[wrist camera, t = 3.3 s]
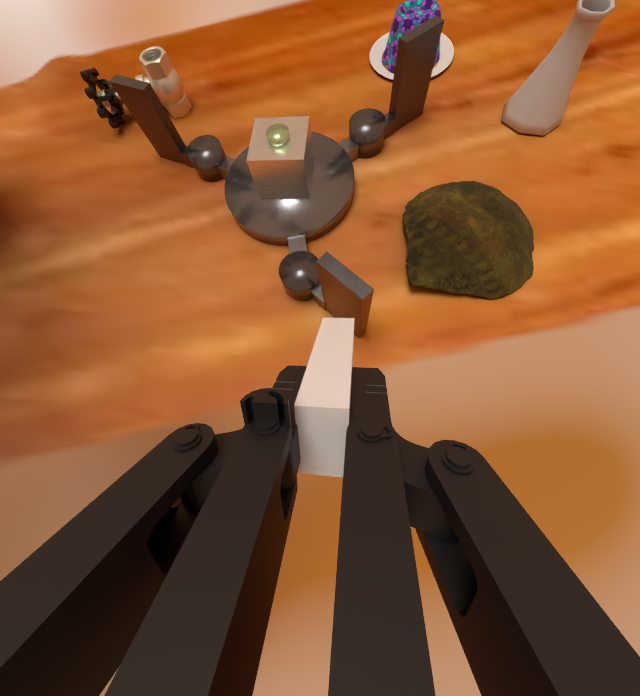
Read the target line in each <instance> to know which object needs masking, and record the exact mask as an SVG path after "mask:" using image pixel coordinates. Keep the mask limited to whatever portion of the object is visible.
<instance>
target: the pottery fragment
mask: <svg viewBox="0 0 640 696" xmlns="http://www.w3.org/2000/svg"><path fill="white" fill-rule="evenodd" d="M405 209H406V211H405V213H404V214H403V226H404V234H405V236H406V237H407V240H408V241H407V242H408V256H407V260H406V262H407V265H406V268H407V269H408V281H409V285H412V286H417V287H424V288H426V289H440V290H442V291H446V292H449V293H450V294H458V293H460V294H470V295H473V296H479V297H484V298H487V299H496V298H500V297H503V296H505V295H507V294H511V293H513V292H514V291H516V290H517V289H518V288H519V287H522V286H523V284H524V283H525V281H526V280H527V279H529V278H531V277H532V275H533V260H532V254H531V253H532V252H533V250H534V245H533V229H532V227H531V225H530V223H529V221H528V219H527V217H526V216H525V214H524V213H523V211H522V210H521V208H520V207H519V206H518V205H517V203H515V202H514V201H512V200H511V199H509V198H508V197H506V196H505V195H504V194H503V193H502V192H501V191H500V190H498V189H495V188H494V187H492V186H488V185H485V184H482V183H479V182H475V181H462V182H451V183H447V184H442V185H438V186H435V187H432V188H430V189H428V190H426V191H424V192H421V193H419V194H418V195H417V196H416V197H415V198H414V199H413V200H411V201H409V202H408V204H407V205H406V207H405Z"/></svg>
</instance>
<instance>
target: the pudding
mask: <svg viewBox="0 0 640 696" xmlns="http://www.w3.org/2000/svg"><path fill="white" fill-rule="evenodd" d="M436 15H437V16H438V17H440V18H441V11H440V8H439V5H438V3H437V2H436V1H435V0H408V1H407V2H403V3H402V4H400V5H399V7H398V9H397V11H396V13H395V17H394V20H393V23H392V27H391V30H390V32H389V33H387V34H385V35H383V36H382V37H380V38H379V39H378V40H377V41H376V42H375V43H374V45H373V46H372V48H371V50H370V55H369V56H370V62H371V65H372V67H373V68H374V69H375V70H376V71H377V72H378V73H379V74H381V75H382V76H384V77H386V78H389V79H392V80H393V78H394V74H392V73H394V71H395V63H396V55H397V48H398V40H399V37H401V36H402V35H404V34H406V33H407V32H409V31H411V30H412V29H414V28H416V27H417V26H419V25H421V24H422V23H424V22H426V21H427V20H429V19H431V18H433V17H434V16H436ZM384 50H385V52H384ZM383 52H384V55H383V59H382V62H383V64H384V65H386V66H388V70H389V71H390V72H391V73H390V72H389V71H387V70H386V69H385V68H384V66H383V65H382V62H381V57H382V54H383ZM439 52H440V59H439ZM453 56H454V47H453V44H452V42H451V41H450V40H449V38H448V37H447V36H445V35H444V34H443V33H441V36H440V40H439V45H438V49H437V53H436V57H435V61H434V63H436V62H438V60H439V62H438V64H437V65H436V66H435V67H434V68H433V70H432V74H431V77H433V76H435V75H437V74H439V73H440V72H442V71H443V70H445V69H446V68H447V67H448V66H449V64H450V63H451V61H452V59H453Z"/></svg>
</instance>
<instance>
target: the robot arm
mask: <svg viewBox="0 0 640 696" xmlns="http://www.w3.org/2000/svg"><path fill="white" fill-rule="evenodd" d="M353 353H354V318H323V319H322V322H321V325H320V328H319V331H318V334H317V338H316V341H315V344H314V347H313V350H312V353H311V356H310V359H309V362H308V365H307V366H287V367H286V368H285V369H283V370H282V371H281V372H280V373H279V375H278V377H277V379H276V382H275V384H274V386H273V388H264V389H259V390H256V391H252V392H251V393H249V394H247V395H246V396H244V398H243V399H242V400H241V401H240V403H241V408H242V412H243V417H244V423H245V425H244V427H243V429H241V430H237V431H233V432H228V433H222V434H217V435H215V434H214V432H213V430H212V428H211V427H210V426H208V425H206V424H200V423H196V424H190V425H186V426H184V427H181V428H179V429H177V430H176V431H174V432H173V433H171V434H170V435H169V436H167V437H166V438H165V439H164V440H163V441H162V442H160V443H159V444H158V445H157V446H156V447H155V448H153V449H152V450H151V451H150V452H149V453H148V454H147V455H145V456H144V457H143V458H142V459H141V460H140V461H139V462H138V463H136V464H135V465H134V466H133V467H132V468H130V469H129V470H128V471H127V472H126V473H125V474H123V475H122V476H121V477H120V478H119V479H118V480H117V481H115V482H114V483H113V484H112V485H111V486H110V487H109V488H107V489H106V490H105V491H104V492H103V493H102V494H101V495H99V496H98V497H97V498H96V499H95V500H94V501H92V502H91V503H90V504H89V505H88V506H87V507H85V508H84V509H83V510H82V511H81V512H80V513H79V514H77V515H76V516H75V517H74V518H73V519H72V520H70V521H69V522H68V523H67V524H66V525H65V526H64V527H62V528H61V529H60V530H59V531H58V532H57V533H56V534H54V535H53V536H52V537H51V538H50V539H49V540H47V541H46V542H45V543H44V544H43V545H42V546H41V547H39V548H38V549H37V550H36V551H35V552H34V553H32V554H31V555H30V556H29V557H28V558H27V559H25V560H24V561H23V562H22V563H21V564H20V565H19V566H17V567H16V568H15V569H14V570H13V571H12V572H10V573H9V574H8V575H7V576H6V577H5V578H4V579H2V580H1V581H0V696H99V695H100V694H101V692H102V691H103V689H104V688H105V686H106V685H107V684H108V682H109V681H110V679H111V678H112V676H113V675H114V673H115V672H116V670H117V669H118V668H119V669H118V670H117V672H116V674H115V676H114V678H113V680H112V682H111V684H110V686H109V688H108V690H107V692H106V694H105V696H252V694H253V690H254V685H255V680H256V676H257V671H258V667H259V662H260V658H261V653H262V649H263V644H264V640H265V635H266V630H267V626H268V621H269V617H270V612H271V607H272V603H273V598H274V594H275V589H276V585H277V580H278V576H279V571H280V566H281V562H282V557H283V553H284V548H285V543H286V539H287V534H288V530H289V525H290V521H291V516H292V511H293V507H294V502H295V498H296V493H297V473H298V468H299V464H300V473H304V474H313V475H325V476H336V477H343V487H342V502H341V516H340V531H339V545H338V546H339V547H338V561H337V574H336V589H335V603H334V618H333V632H332V647H331V662H330V676H329V691H328V696H435V690H434V683H433V676H432V669H431V663H430V657H429V649H428V643H427V636H426V629H425V623H424V616H423V609H422V602H421V596H420V589H419V583H418V575H417V569H416V562H415V555H414V548H413V542H412V535H411V528H410V526H411V527H414V528H416V532H417V534H418V537H419V539H420V542H421V544H422V547H423V549H424V552H425V554H426V557H427V560H428V562H429V564H430V567H431V569H432V572H433V575H434V577H435V579H436V582H437V584H438V587H439V590H440V592H441V595H442V597H443V600H444V602H445V605H446V607H447V610H448V612H449V615H450V617H451V620H452V622H453V625H454V627H455V630H456V632H457V635H458V638H459V640H460V642H461V645H462V648H463V650H464V653H465V655H466V658H467V660H468V663H469V665H470V668H471V670H472V673H473V675H474V678H475V680H476V683H477V685H478V688H479V690H480V693H481V695H482V696H640V657H639V655H638V654H637V653H636V652H635V650H634V649H633V648H632V646H631V645H630V644H629V643H628V641H627V640H626V639H625V638H624V636H623V635H622V634H621V633H620V631H619V630H618V628H617V627H616V626H615V625H614V623H613V622H612V621H611V620H610V618H609V617H608V616H607V614H606V613H605V612H604V611H603V609H602V608H601V607H600V605H599V604H598V603H597V602H596V600H595V599H594V598H593V596H592V595H591V594H590V593H589V591H588V590H587V589H586V588H585V586H584V585H583V584H582V583H581V581H580V580H579V579H578V577H577V576H576V575H575V573H574V572H573V571H572V570H571V568H570V567H569V566H568V564H567V563H566V562H565V561H564V559H563V558H562V557H561V555H560V554H559V553H558V552H557V550H556V549H555V548H554V547H553V545H552V544H551V543H550V541H549V540H548V539H547V538H546V536H545V535H544V534H543V532H542V531H541V530H540V529H539V528H538V526H537V525H536V523H535V522H534V521H533V520H532V518H531V517H530V516H529V515H528V513H527V512H526V511H525V509H524V508H523V507H522V506H521V504H520V503H519V502H518V500H517V499H516V498H515V497H514V495H513V494H512V493H511V492H510V490H509V489H508V488H507V486H506V485H505V484H504V482H503V481H502V480H501V479H500V477H499V476H498V475H497V474H496V472H495V471H494V470H493V468H492V467H491V466H490V465H489V463H488V462H487V461H486V459H485V458H484V457H483V456H482V455H481V454H480V453H478V451H477V450H475V449H473V448H472V447H470V446H468V445H467V444H464V443H461V442H457V441H454V440H442V441H438V442H435V443H434V444H433V445H432V446H431V447H430V448H426V447H422V446H420V445H416V444H414V443H411V442H409V441H407V440H405V439H404V438H402V437H401V436H400V435H399V434H398V433H397V432H396V431H395V430H394V428H393V427H392V423H391V418H390V411H389V403H388V396H387V388H386V381H385V376H384V375H383V373H382V372H381V371H380V370H379V369H378V368H358V367H353ZM119 666H120V667H119Z"/></svg>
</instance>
